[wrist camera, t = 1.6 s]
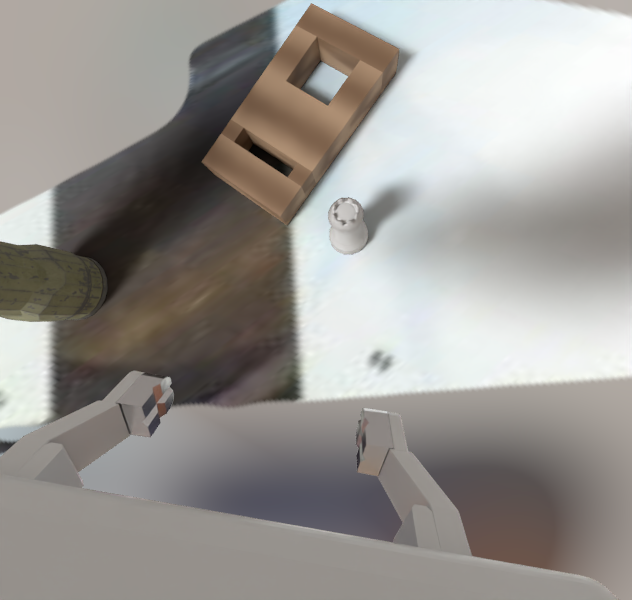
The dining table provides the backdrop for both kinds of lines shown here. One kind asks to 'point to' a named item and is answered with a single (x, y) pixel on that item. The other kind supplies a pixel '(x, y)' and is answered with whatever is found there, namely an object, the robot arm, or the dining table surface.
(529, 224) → the dining table surface
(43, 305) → the thermos
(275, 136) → the block
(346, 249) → the rook chess piece
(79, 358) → the dining table surface
